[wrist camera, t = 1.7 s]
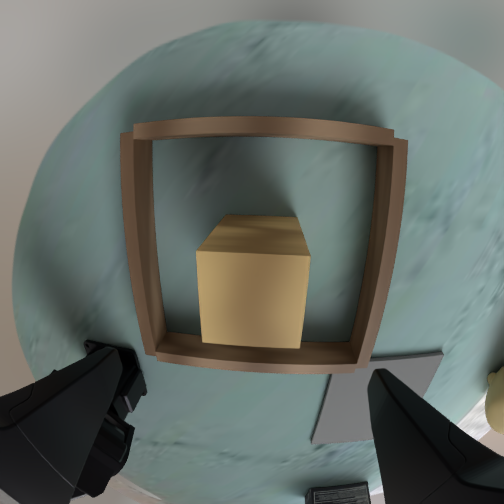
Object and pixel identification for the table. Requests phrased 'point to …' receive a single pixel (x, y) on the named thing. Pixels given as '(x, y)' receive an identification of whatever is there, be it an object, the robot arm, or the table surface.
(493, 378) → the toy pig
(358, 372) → the mat
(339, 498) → the small box
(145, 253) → the wooden picture frame
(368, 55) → the table surface
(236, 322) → the ochre block
